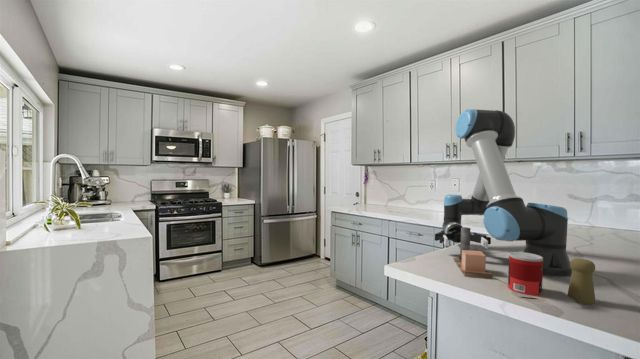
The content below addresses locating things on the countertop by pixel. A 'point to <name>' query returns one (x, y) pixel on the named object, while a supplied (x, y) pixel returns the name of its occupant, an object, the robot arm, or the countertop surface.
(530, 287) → the canned food
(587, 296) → the cork
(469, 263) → the terracotta block
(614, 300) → the countertop surface
